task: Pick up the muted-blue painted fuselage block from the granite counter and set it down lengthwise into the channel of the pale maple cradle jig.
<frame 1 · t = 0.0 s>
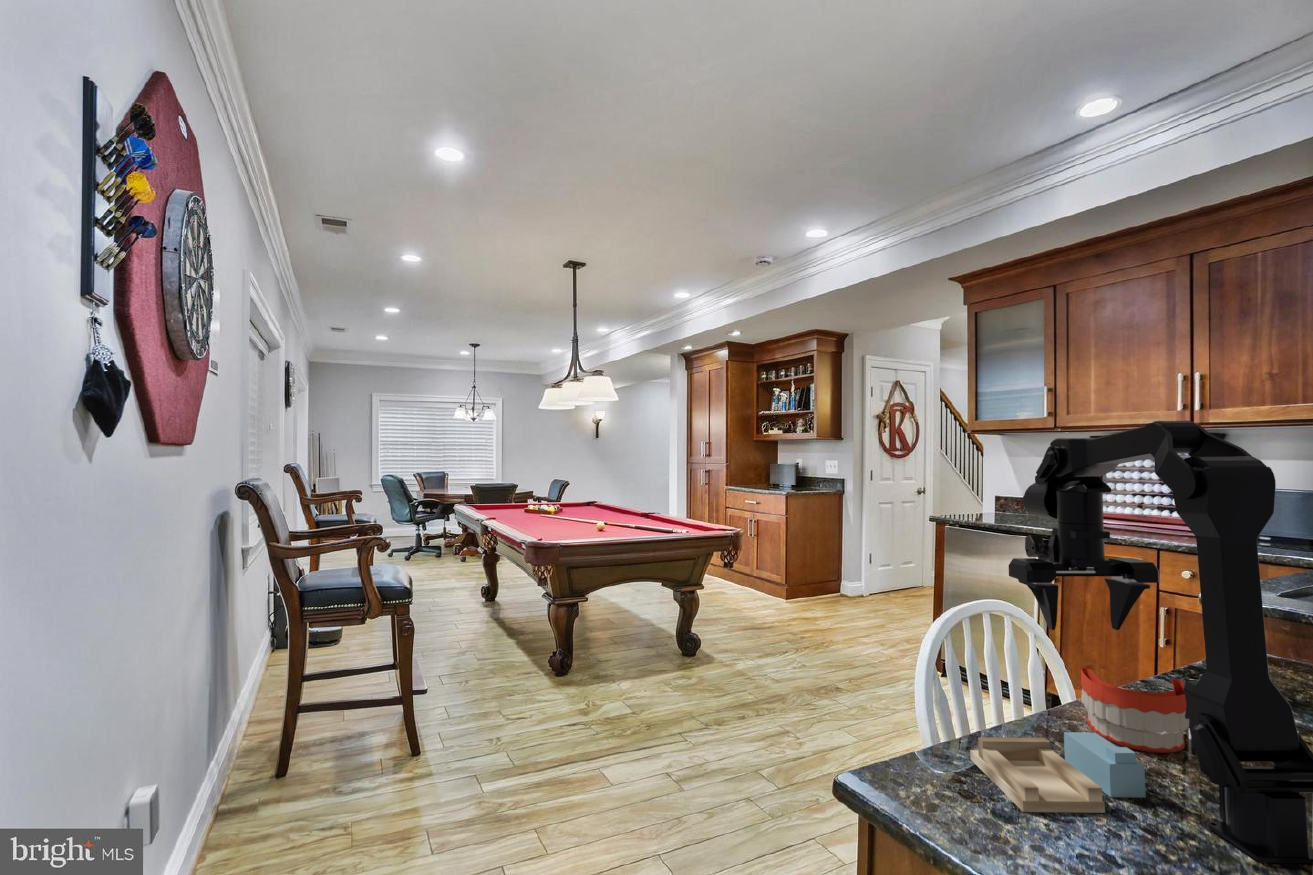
hand: (1083, 629, 95), 15 cm above the counter, fingers open, 9 cm apart
toy: (1138, 743, 91), on the counter
jig: (1032, 783, 79), on the counter
fuselage: (1103, 780, 80), on the counter
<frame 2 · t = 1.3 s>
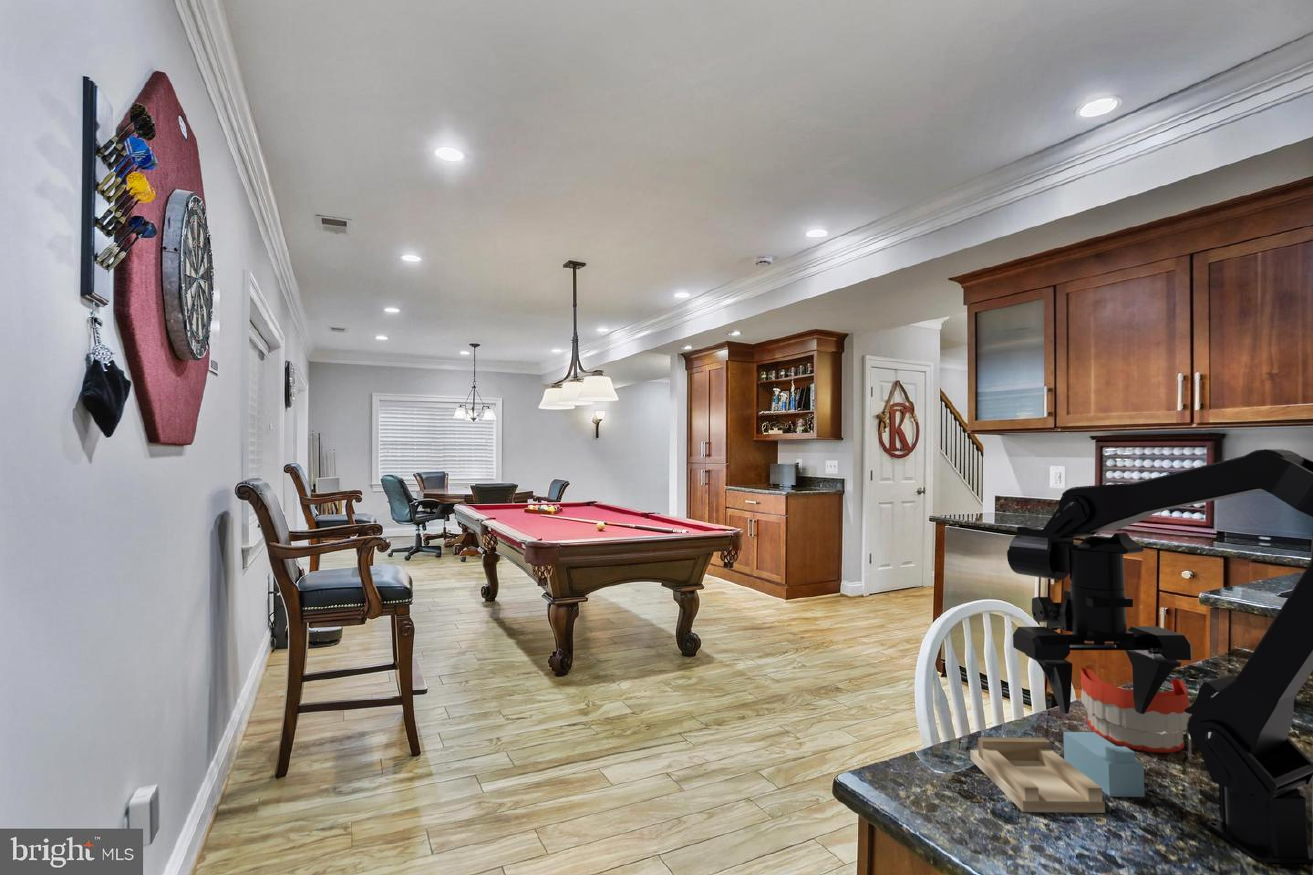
hand: (1102, 712, 80), 8 cm above the counter, fingers open, 9 cm apart
nothing on the counter moved.
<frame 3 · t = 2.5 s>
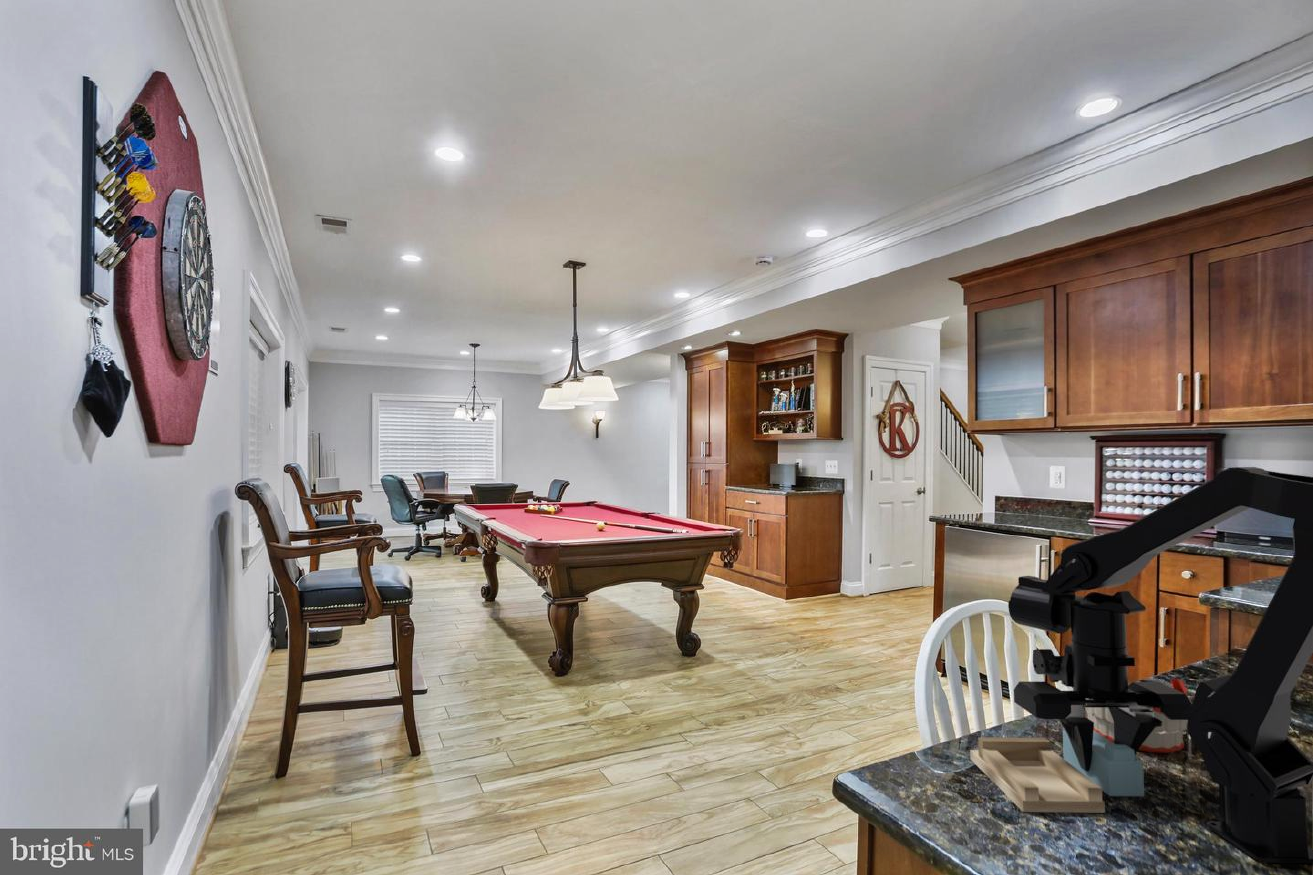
hand: (1102, 769, 80), 1 cm above the counter, fingers closed on fuselage, 4 cm apart
fuselage: (1101, 777, 80), on the counter, touching gripper
everything else where it was.
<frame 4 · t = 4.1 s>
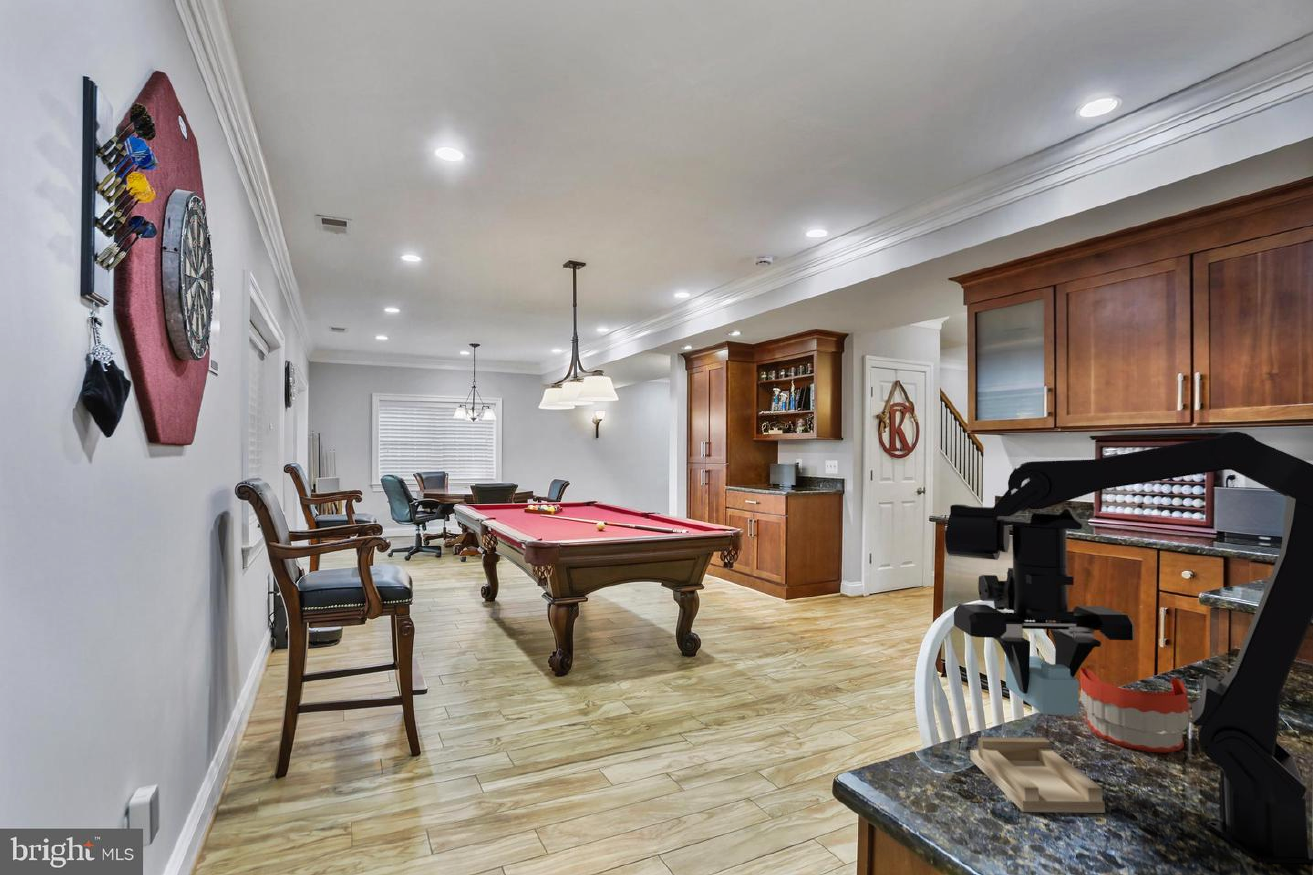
hand: (1041, 692, 79), 11 cm above the counter, fingers closed on fuselage, 4 cm apart
fuselage: (1040, 700, 79), point 10 cm above the counter, touching gripper
everything else where it was.
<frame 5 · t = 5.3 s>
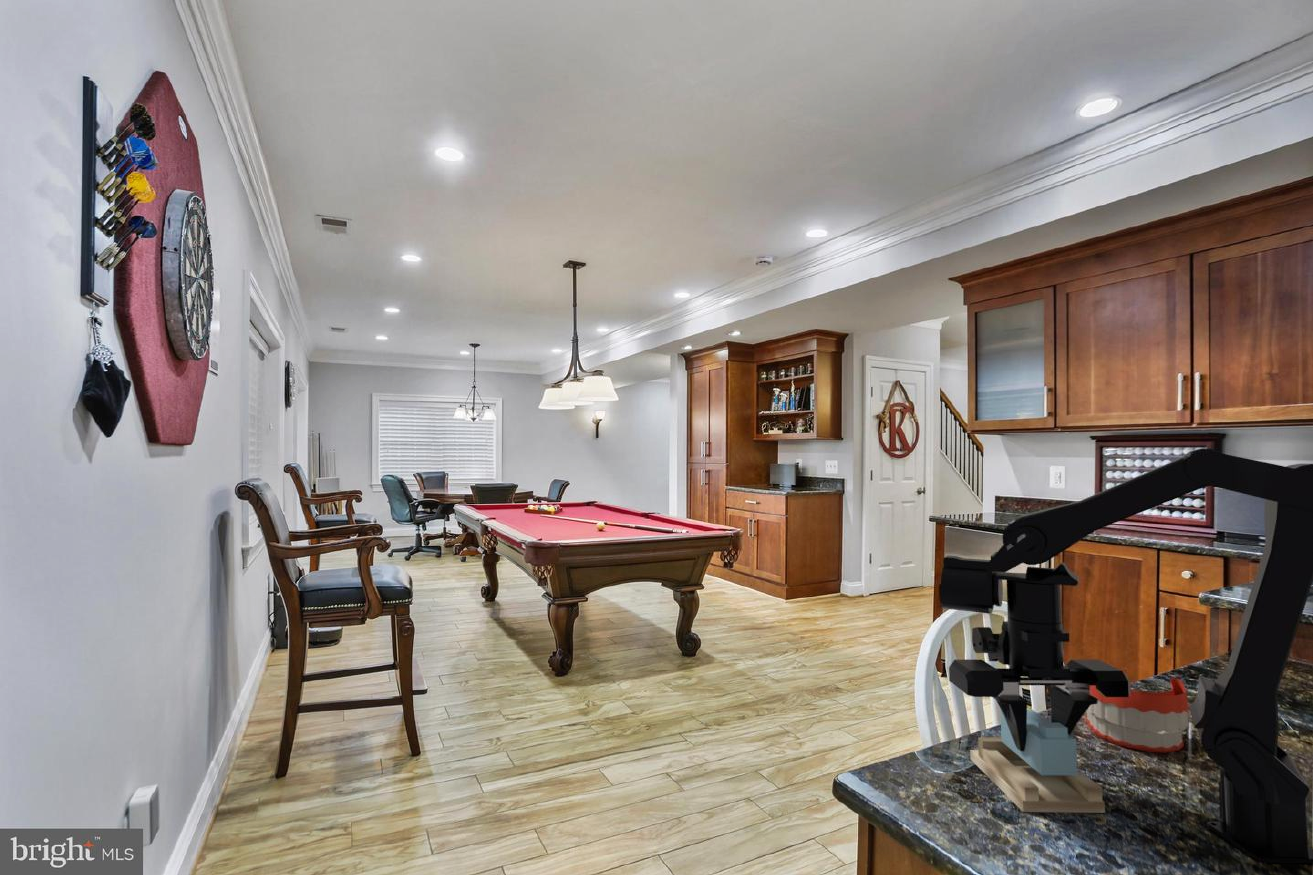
hand: (1038, 749, 78), 5 cm above the counter, fingers closed on fuselage, 4 cm apart
fuselage: (1037, 757, 78), point 4 cm above the counter, touching gripper
everything else where it was.
when the fingers open (4 cm above the counter, at t = 5.9 s): fuselage drops 1 cm, resting on jig.
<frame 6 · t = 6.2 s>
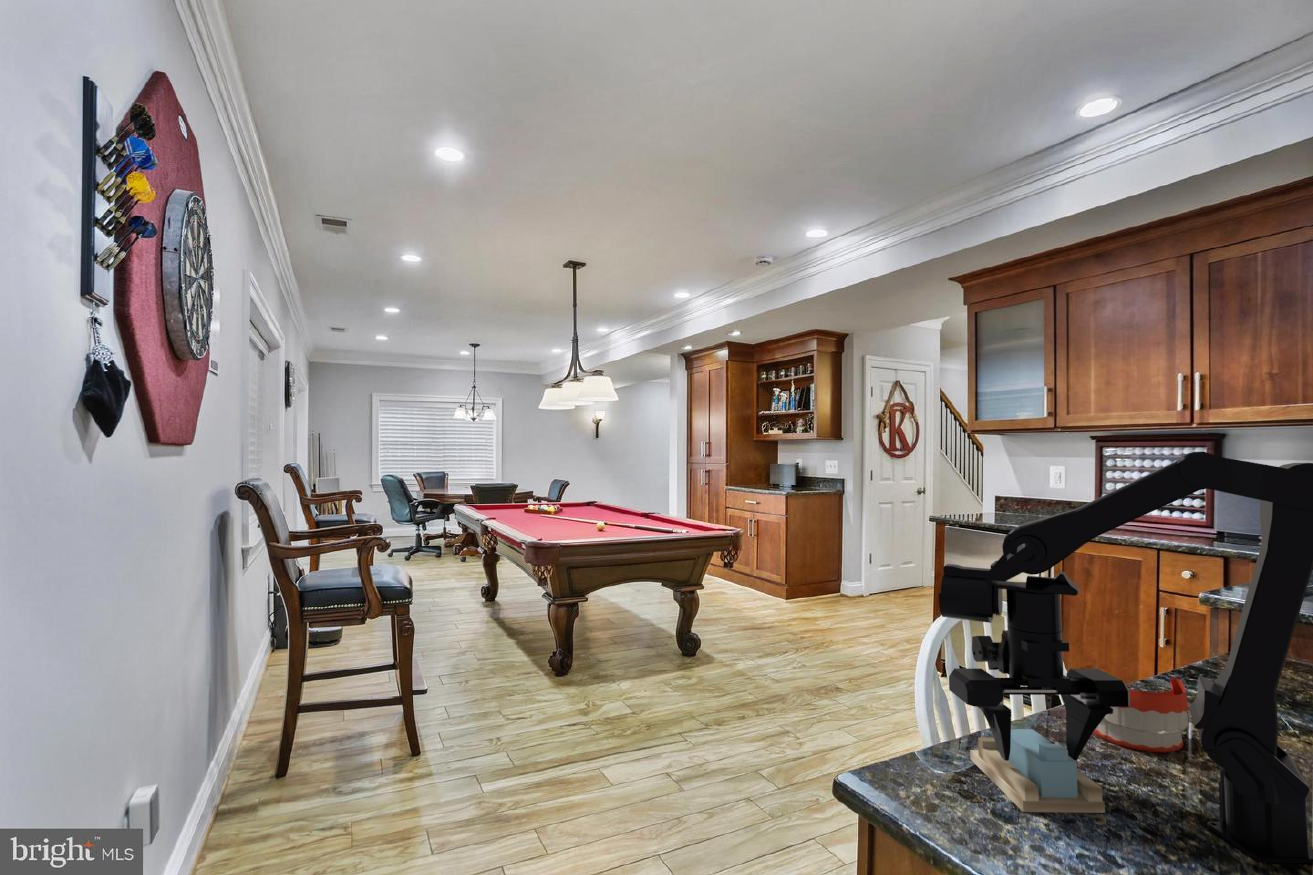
hand: (1038, 759, 78), 4 cm above the counter, fingers open, 8 cm apart
fuselage: (1037, 778, 78), point 1 cm above the counter, touching jig
everything else where it was.
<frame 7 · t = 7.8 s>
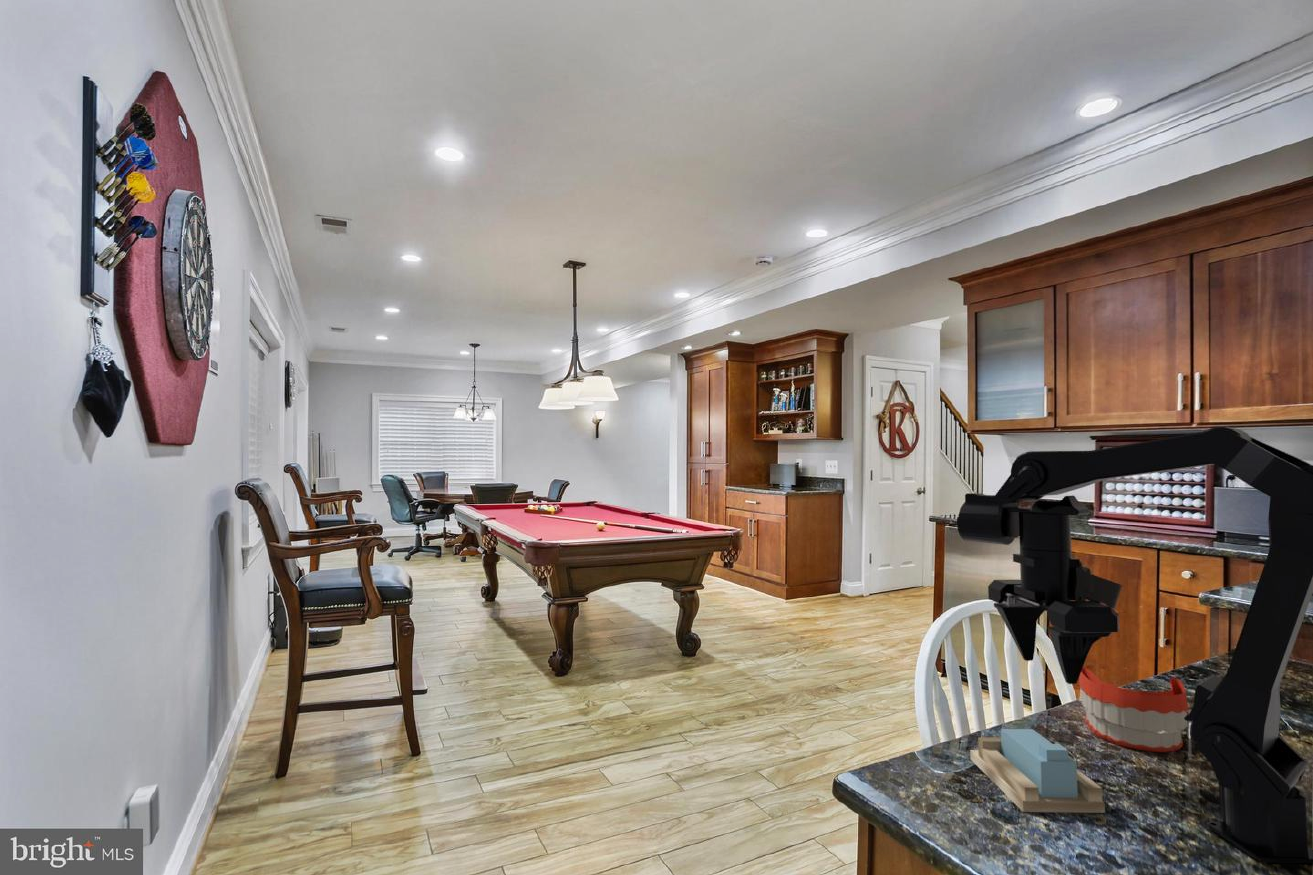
hand: (1048, 671, 83), 13 cm above the counter, fingers open, 9 cm apart
nothing on the counter moved.
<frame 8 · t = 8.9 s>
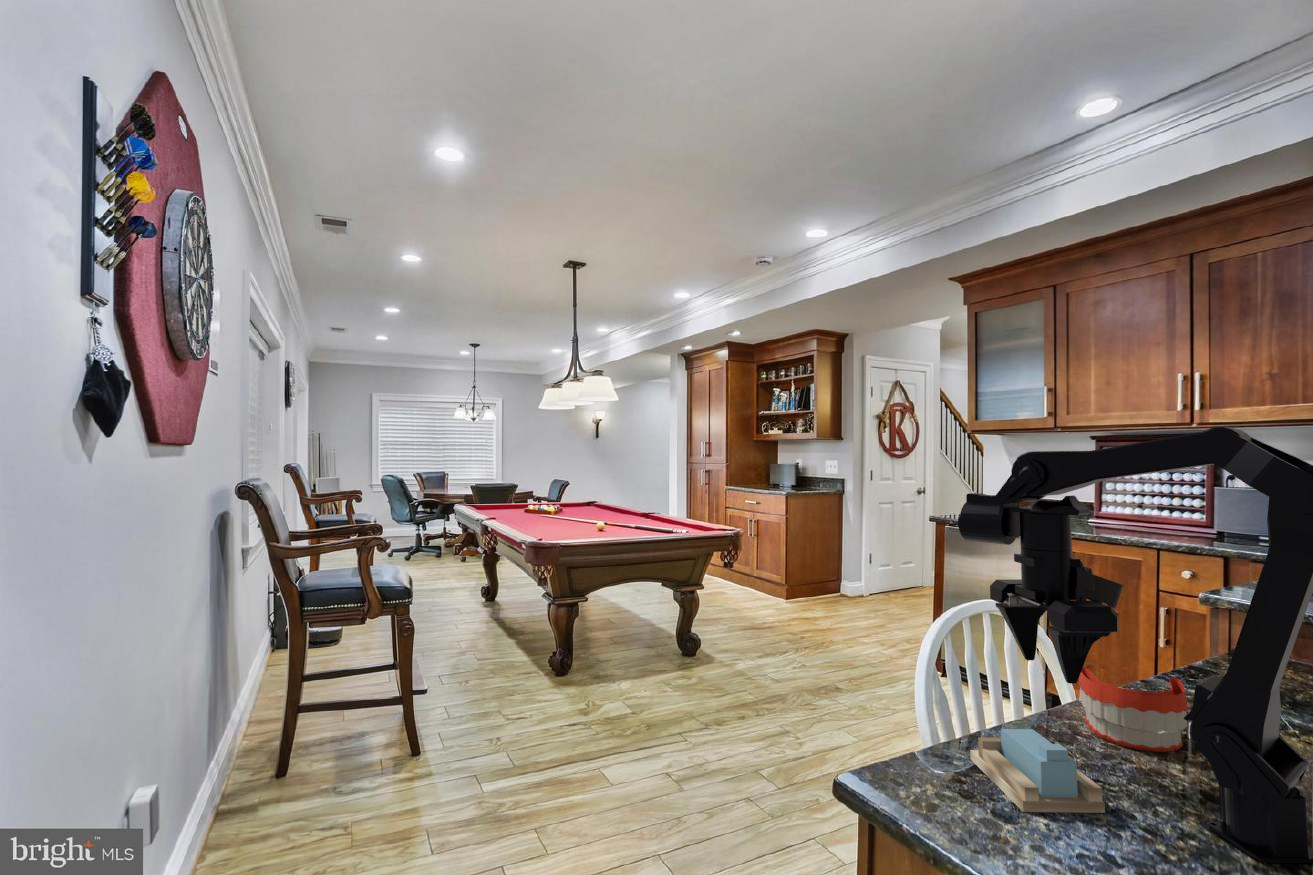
hand: (1049, 670, 83), 12 cm above the counter, fingers open, 9 cm apart
nothing on the counter moved.
at the end: fuselage 0.3 cm from the target spot on the jig, point 1.2 cm above the jig's base; fuselage tilted 0°; the gripper is holding nothing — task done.
